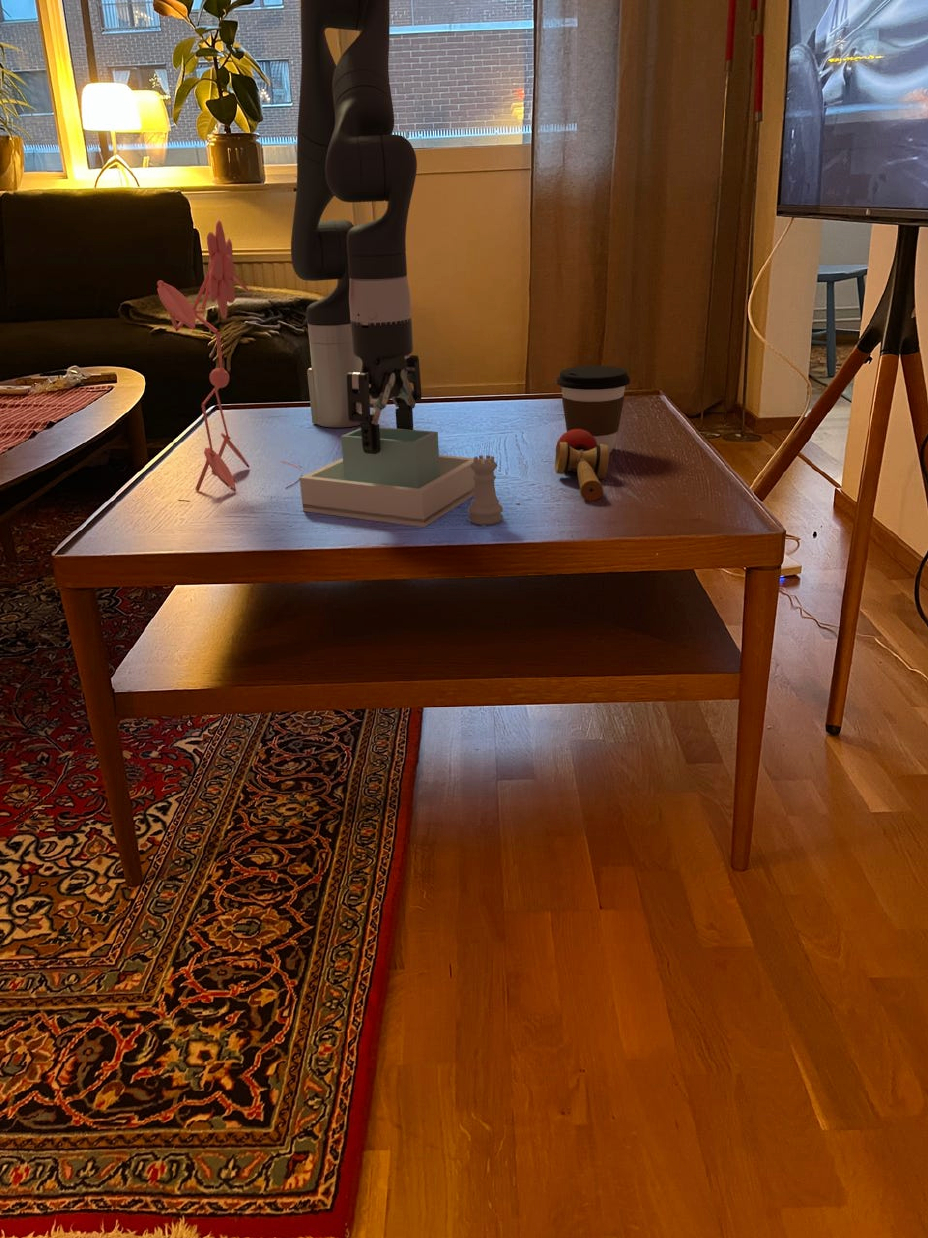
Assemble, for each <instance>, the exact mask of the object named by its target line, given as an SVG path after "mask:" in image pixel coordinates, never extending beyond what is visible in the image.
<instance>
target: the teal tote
mask: <svg viewBox="0 0 928 1238" xmlns="http://www.w3.org/2000/svg"><path fill="white" fill-rule="evenodd" d="M379 432H380V447H381V451H380V452H379V453H377V454H368V453H365V452H364V451H363V446H362V434H361V427H359V428H357V429H355V430H352V431H350V432H347V433H346V434H343V435H341V436H340V441H341V452H342V458H343V465H344V477H345V480H347V481H356V482H364V483H373V484H382V485H390V486H399V487H408V488H417V489H419V488H421V487H423V486H425V485H426V484H428V483H430V482H432V481H433V480H435V479H437V478H439V477H440V470H439V455H440V454H439V453H440V452H439V450H440V449H439V434H438V433H439V432H438V431H431V430H430V431H429V430H420V429H419V430H418V429H413V430H409V429H397V427H383V426H381V427H380V426H379Z"/></svg>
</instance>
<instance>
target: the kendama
mask: <svg viewBox="0 0 928 1238" xmlns="http://www.w3.org/2000/svg"><path fill="white" fill-rule="evenodd" d="M609 459H610V453H609V448H608V446H607V445H603V444H599V445H598V446H597V443H596V440H595V438H594V437H593V436H592V435H591V434H590V433H589V432H587V431H585V430H581V429H573V430H570V431H567V430H566V432H564V433H563V434H561V436H560V438H558V440H557V442H556V446H555V459H554V472H555V473H556V474H558V475H564V474H565V473H566V472H568V471H571V472H577V479H578V486H579V490H580V491H579V493H580V495H581V498H582V499H583V500H584V501H587V502H588V501H598V500H599V499H601V497H602V496H603V494H604V493H603V492H604V487H603V485H602V483H601V482H600V480H602V479H603V480H604V479H605V477H606V475H607V471H608V469H609V468H608V467H609Z"/></svg>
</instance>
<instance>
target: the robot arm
mask: <svg viewBox="0 0 928 1238" xmlns="http://www.w3.org/2000/svg"><path fill="white" fill-rule="evenodd" d="M390 20H391V19H390V0H300V38H301V39H300V43H301V44H300V45H301V46H300V48H301V50H300V51H301V57H300V58H301V64H300V65H301V67H300V84H299V85H300V88H299V101H298V102H299V103H298V116H297V131H296V132H297V133H296V134H297V135H296V136H297V137H296V195H295V201H294V202H295V203H294V211H293V219H292V227H291V238H290V255H291V256H290V258H291V264H292V268H293V271H294V273H295V275H296V276H297V277H298V278H299V279H301V280H302V281H307V282H308V281H310V282H316V281H318V282H319V281H331V280H337V285H336V286H335V288H334V289H333V290H332V291H331V292H330V293H328V295H326V296H324V297H322V298H321V299H318V300H316V301H314V302H312V303H310V304H309V305H307V307H306V322H307V329H308V330H307V331H308V342H309V343H308V344H309V351H310V362H311V367H309V368H308V369H307V371H306V372H307V382H308V384H307V385H308V392H309V393H308V394H309V401H310V412H311V413H310V414H311V422H312V424H314V425H317V426H321V427H325V428H350V427H355V426H356V427H357V426H360V428H361V434H362V446H363V451H364V452H365V453H368V454H377V453H379V452H380V451H381V447H380V432H379V427H380V424H379V421H380V416H381V414H382V410H384V409H385V408H386V407H387V404H388V401H389V400H392V402H393V404H394V406H395V407H396V408H395V425H396V427H395V428H397V429H409V430H414V418H413V417H414V416H413V415H414V414H413V409H415V407H416V402H418V401H419V402H420V401H421V400H422V384H421V372H420V371H421V370H420V359H419V356H418V355H414V354H412V353H413V351H414V343H413V341H414V340H413V324H412V323H413V320H412V307H411V306H412V305H411V294H410V293H411V291H410V288H409V280H408V276H407V275H408V268H407V253H406V252H407V251H406V250H407V249H406V248H407V247H406V246H407V244H406V239H407V238H406V234H407V226H408V225H407V223H408V217H409V216H408V215H409V209H410V205H411V200H412V196H413V191H414V186H415V182H416V177H417V176H416V175H417V170H418V160H417V155H416V152H415V151H416V150H415V149H414V148H413V145H412V143H411V142H410V141H409V140H408V138H406V137H405V136H403V135H400V134H393V133H394V129H395V113H394V105H393V99H392V91H391V85H390V75H389V74H390V72H389V71H390V69H389V60H390V59H389V55H390V27H391V26H390V23H391V22H390ZM326 29H333V30H334V29H337V30H344V31H345V30H346V31H357V32H360V33H359V34H358V35H357V36H356V38H355V40H354V41H352V42H351V44H350V45H348V47H347V49H346V50H344V52H343V53H342V55H341V56H340V58H339V60H338V62H337V64H336V62H335V59H334V57H333V54H332V52H331V49H330V46H329V44H328V43H329V42H328V40H327V36H326V34H325V31H326ZM334 197H335V198H336V199H337V200H339V201H341V202H345V203H373V202H388V203H387V208H386V210H385V212H384V214H383V215H382V216H380V218H377V219H375V220H373V221H369V222H365V223H361V224H358V225H355V226H354V224H353V223H352V221H350V220H347V219H329V220H326V219H325V220H321V218H322V215H323V213H324V212H325V209H326V208H327V206H328V205H329V203H330V202H331V201H332V199H334ZM411 383H412V385H413V388H412V386H411ZM370 397H371V398H370ZM371 409H372V411H371Z"/></svg>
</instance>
